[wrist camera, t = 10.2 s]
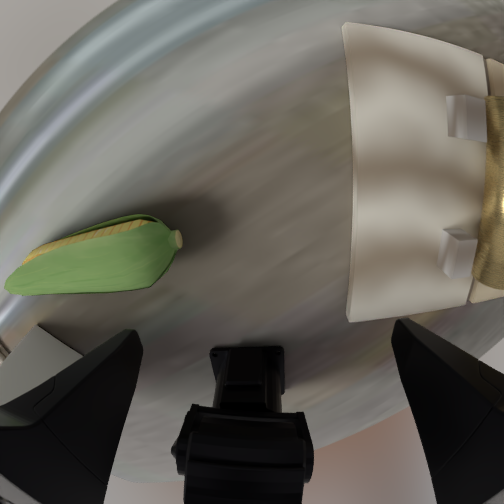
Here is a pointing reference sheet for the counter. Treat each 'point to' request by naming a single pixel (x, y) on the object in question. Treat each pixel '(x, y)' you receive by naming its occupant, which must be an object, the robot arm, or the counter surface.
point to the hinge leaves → (415, 171)
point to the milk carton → (33, 363)
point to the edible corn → (100, 259)
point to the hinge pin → (492, 202)
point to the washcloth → (3, 354)
